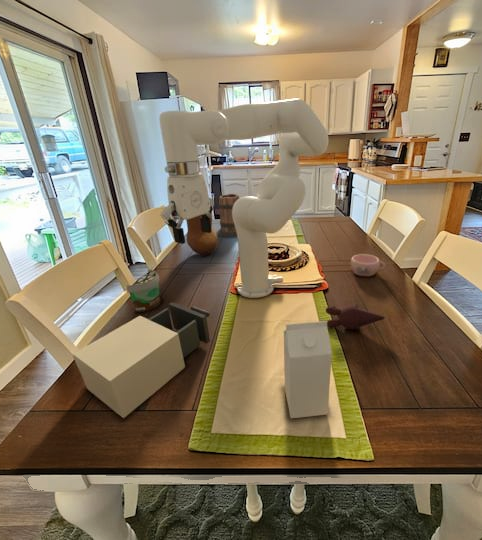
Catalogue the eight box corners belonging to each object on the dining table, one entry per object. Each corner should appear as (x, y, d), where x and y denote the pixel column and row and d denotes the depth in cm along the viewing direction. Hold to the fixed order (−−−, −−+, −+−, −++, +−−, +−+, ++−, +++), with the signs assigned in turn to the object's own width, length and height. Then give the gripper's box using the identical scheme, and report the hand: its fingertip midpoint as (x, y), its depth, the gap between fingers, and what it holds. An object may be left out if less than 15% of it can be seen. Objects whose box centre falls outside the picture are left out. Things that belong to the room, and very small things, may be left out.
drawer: (188, 318, 84) (183, 295, 80) (221, 332, 77) (217, 307, 74) (130, 357, 70) (122, 331, 66) (164, 378, 63) (156, 350, 60)
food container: (151, 316, 87) (144, 287, 83) (133, 314, 88) (125, 286, 84) (171, 295, 98) (165, 269, 94) (155, 294, 99) (148, 268, 95)
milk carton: (284, 388, 60) (283, 313, 52) (318, 385, 61) (321, 309, 53) (290, 419, 54) (289, 338, 46) (327, 415, 54) (333, 334, 46)
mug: (350, 278, 104) (351, 263, 101) (349, 266, 112) (350, 252, 110) (385, 280, 101) (388, 265, 99) (381, 268, 110) (384, 254, 107)
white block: (148, 347, 74) (139, 315, 70) (185, 367, 67) (178, 333, 63) (87, 388, 63) (72, 353, 58) (123, 418, 56) (109, 381, 51)
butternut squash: (224, 251, 134) (219, 197, 123) (205, 261, 123) (196, 203, 113) (202, 246, 140) (195, 194, 130) (182, 256, 130) (172, 200, 120)
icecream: (382, 300, 78) (325, 300, 81) (387, 309, 71) (324, 309, 74) (382, 325, 79) (326, 324, 83) (387, 335, 72) (325, 334, 75)
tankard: (212, 236, 154) (208, 199, 145) (222, 227, 168) (219, 192, 160) (255, 237, 149) (253, 198, 140) (262, 228, 164) (260, 192, 155)
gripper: (166, 174, 61) (179, 250, 68) (219, 166, 74) (225, 230, 81) (143, 173, 64) (158, 245, 72) (198, 165, 78) (205, 227, 85)
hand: (194, 237), depth 76 cm, fingers open, 9 cm apart
